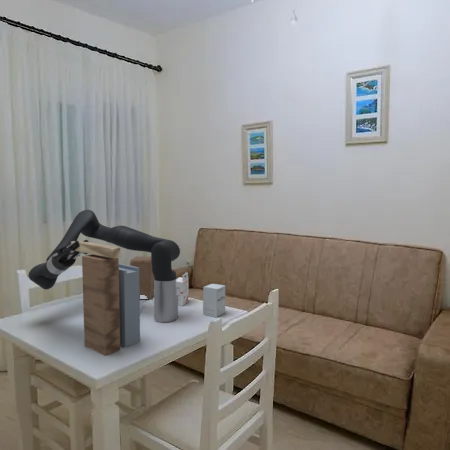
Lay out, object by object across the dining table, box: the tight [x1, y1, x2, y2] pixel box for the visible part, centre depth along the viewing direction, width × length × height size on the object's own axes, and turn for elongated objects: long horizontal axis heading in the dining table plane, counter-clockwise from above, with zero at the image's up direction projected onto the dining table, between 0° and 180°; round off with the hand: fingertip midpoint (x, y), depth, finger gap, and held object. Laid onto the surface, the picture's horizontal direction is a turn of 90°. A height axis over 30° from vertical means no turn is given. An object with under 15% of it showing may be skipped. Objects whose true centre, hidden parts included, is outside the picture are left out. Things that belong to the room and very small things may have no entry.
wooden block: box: [129, 256, 154, 301], centre depth 192 cm, size 10×10×20 cm
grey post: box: [119, 263, 141, 348], centre depth 138 cm, size 6×12×27 cm, turn 53°
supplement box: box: [202, 283, 226, 318], centre depth 168 cm, size 7×7×13 cm
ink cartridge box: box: [176, 271, 189, 307], centre depth 183 cm, size 9×5×15 cm, turn 168°
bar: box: [71, 240, 122, 258], centre depth 131 cm, size 3×24×3 cm, turn 53°
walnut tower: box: [81, 254, 121, 356], centre depth 131 cm, size 6×12×32 cm, turn 53°
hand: (82, 242), depth 135 cm, fingers closed on bar, 3 cm apart
